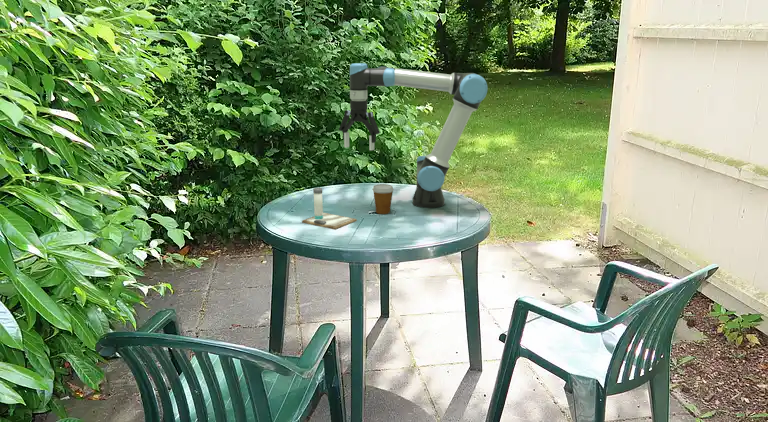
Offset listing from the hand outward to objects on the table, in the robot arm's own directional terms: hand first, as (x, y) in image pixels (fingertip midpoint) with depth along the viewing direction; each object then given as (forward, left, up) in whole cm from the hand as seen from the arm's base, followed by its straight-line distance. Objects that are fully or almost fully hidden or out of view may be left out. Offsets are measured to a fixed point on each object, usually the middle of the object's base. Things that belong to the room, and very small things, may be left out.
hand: (359, 148), depth 275 cm
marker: (+6, +22, -28) cm, 36 cm away
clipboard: (+1, +21, -29) cm, 36 cm away
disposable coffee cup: (-10, -4, -29) cm, 31 cm away
